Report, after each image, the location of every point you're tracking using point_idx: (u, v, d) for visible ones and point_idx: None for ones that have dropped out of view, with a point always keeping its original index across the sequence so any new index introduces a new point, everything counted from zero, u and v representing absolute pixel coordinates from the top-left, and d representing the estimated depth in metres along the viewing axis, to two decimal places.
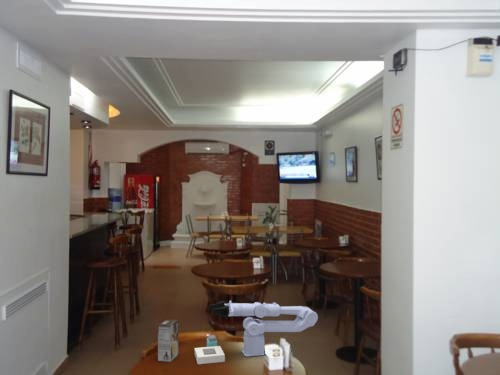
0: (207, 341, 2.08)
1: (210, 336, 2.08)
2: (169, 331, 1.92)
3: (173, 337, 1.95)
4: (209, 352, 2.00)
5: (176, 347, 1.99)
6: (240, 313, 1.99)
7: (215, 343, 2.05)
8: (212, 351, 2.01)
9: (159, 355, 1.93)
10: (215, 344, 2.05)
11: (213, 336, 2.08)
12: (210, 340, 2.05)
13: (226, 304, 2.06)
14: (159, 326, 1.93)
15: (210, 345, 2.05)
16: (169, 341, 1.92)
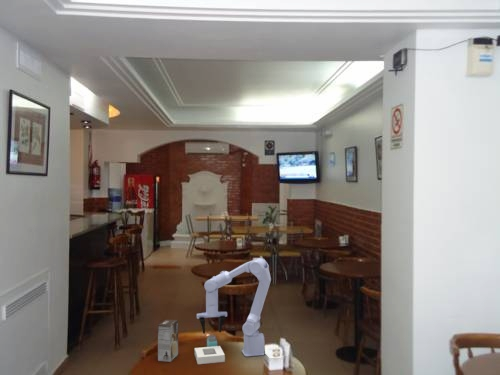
0: (207, 341, 2.08)
1: (210, 336, 2.08)
2: (169, 331, 1.92)
3: (173, 337, 1.95)
4: (209, 352, 2.00)
5: (176, 347, 1.99)
6: (206, 305, 2.07)
7: (215, 343, 2.05)
8: (212, 351, 2.01)
9: (159, 355, 1.93)
10: (215, 344, 2.05)
11: (213, 336, 2.08)
12: (210, 340, 2.05)
13: None
14: (159, 326, 1.93)
15: (210, 345, 2.05)
16: (169, 341, 1.92)
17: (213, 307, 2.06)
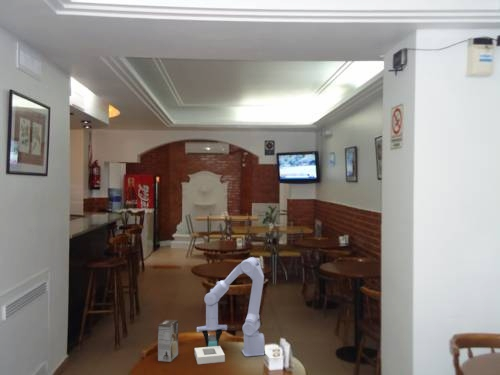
0: None
1: (210, 336, 2.08)
2: (169, 331, 1.92)
3: (173, 337, 1.95)
4: (209, 352, 2.00)
5: (176, 347, 1.99)
6: (206, 318, 2.06)
7: (215, 343, 2.05)
8: (212, 351, 2.01)
9: (159, 355, 1.93)
10: (215, 344, 2.05)
11: (213, 336, 2.08)
12: (210, 340, 2.05)
13: None
14: (159, 326, 1.93)
15: (210, 345, 2.05)
16: (169, 341, 1.92)
17: (213, 320, 2.06)
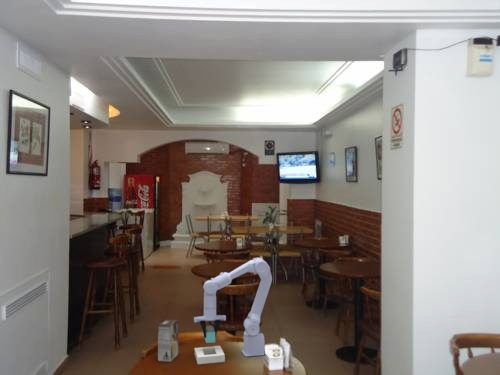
0: None
1: (208, 327, 2.00)
2: (169, 331, 1.92)
3: (173, 337, 1.95)
4: (209, 352, 2.00)
5: (176, 347, 1.99)
6: (204, 308, 1.98)
7: (213, 334, 1.97)
8: (212, 351, 2.01)
9: (159, 355, 1.93)
10: (213, 335, 1.97)
11: (211, 327, 2.00)
12: (208, 331, 1.97)
13: None
14: (159, 326, 1.93)
15: (208, 336, 1.97)
16: (169, 341, 1.92)
17: (211, 310, 1.97)
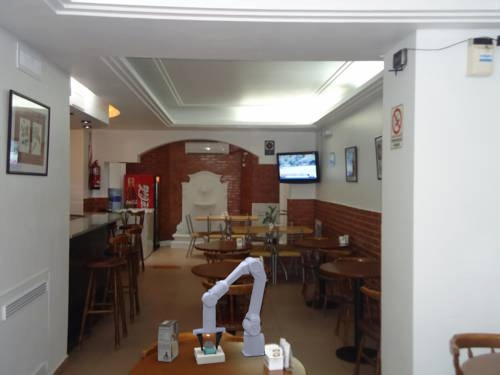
0: (204, 348, 1.97)
1: (207, 342, 1.97)
2: (169, 331, 1.92)
3: (173, 337, 1.95)
4: None
5: (176, 347, 1.99)
6: (204, 321, 1.95)
7: (212, 350, 1.94)
8: None
9: (159, 355, 1.93)
10: (212, 351, 1.94)
11: (210, 342, 1.97)
12: (207, 347, 1.94)
13: None
14: (159, 326, 1.93)
15: (207, 352, 1.94)
16: (169, 341, 1.92)
17: (210, 323, 1.94)
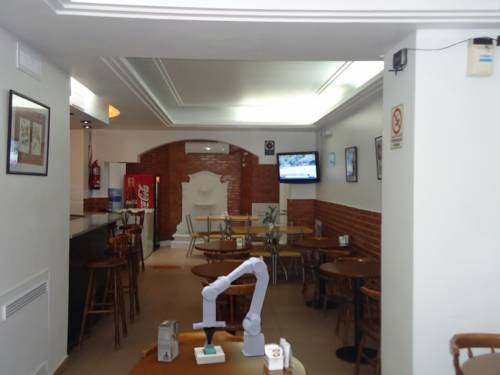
0: (204, 348, 1.97)
1: None
2: (169, 331, 1.92)
3: (173, 337, 1.95)
4: None
5: (176, 347, 1.99)
6: (203, 314, 1.95)
7: (212, 350, 1.94)
8: None
9: (159, 355, 1.93)
10: (212, 351, 1.94)
11: None
12: (207, 347, 1.94)
13: None
14: (159, 326, 1.93)
15: (207, 352, 1.94)
16: (169, 341, 1.92)
17: (210, 317, 1.94)
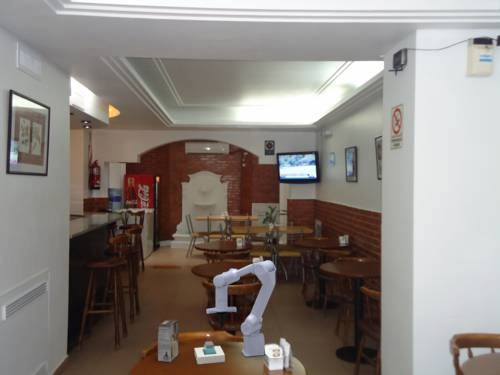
0: (204, 348, 1.97)
1: (207, 342, 1.97)
2: (169, 331, 1.92)
3: (173, 337, 1.95)
4: None
5: (176, 347, 1.99)
6: (216, 300, 2.10)
7: (212, 350, 1.94)
8: None
9: (159, 355, 1.93)
10: (212, 351, 1.94)
11: (210, 342, 1.97)
12: (207, 347, 1.94)
13: None
14: (159, 326, 1.93)
15: (207, 352, 1.94)
16: (169, 341, 1.92)
17: (223, 302, 2.09)
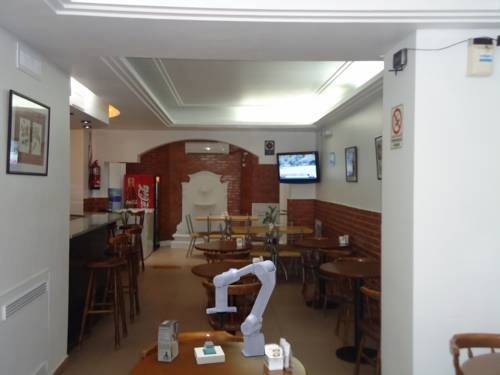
0: (204, 348, 1.97)
1: (207, 342, 1.97)
2: (169, 331, 1.92)
3: (173, 337, 1.95)
4: None
5: (176, 347, 1.99)
6: (216, 300, 2.10)
7: (212, 350, 1.94)
8: None
9: (159, 355, 1.93)
10: (212, 351, 1.94)
11: (210, 342, 1.97)
12: (207, 347, 1.94)
13: None
14: (159, 326, 1.93)
15: (207, 352, 1.94)
16: (169, 341, 1.92)
17: (223, 302, 2.09)
